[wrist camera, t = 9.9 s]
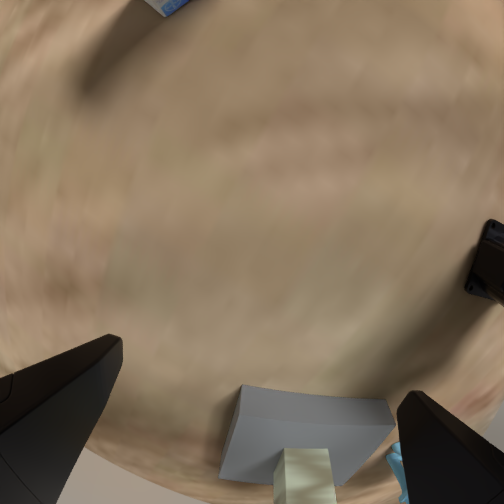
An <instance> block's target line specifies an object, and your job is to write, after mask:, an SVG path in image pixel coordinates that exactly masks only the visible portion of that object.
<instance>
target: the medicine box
mask: <svg viewBox="0 0 504 504" xmlns="http://www.w3.org/2000/svg"><path fill="white" fill-rule="evenodd" d="M144 1H146V2H147V3H148V4H149V5H150V6H152V7H153V8H154V9H155V10H156V11H158V12H159V13H160V14H161V15H162V16H164V17H167V16H169V15H171V14H172V13H173V12H174V11H176V10H177V9H178V8H180V7H181V6H182V5H184V4H185V3H187V2H188V1H189V0H144Z"/></svg>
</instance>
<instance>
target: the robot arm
mask: <svg viewBox="0 0 504 504" xmlns="http://www.w3.org/2000/svg"><path fill="white" fill-rule="evenodd" d="M492 223H493V225H492ZM470 286H471V287H470ZM469 287H470V288H469ZM465 291H466V292H467V293H469V294H473V295H477V296H480V297H484V298H488V299H491V300H495V301H497V302H498V303H499V304H501V305H502V306H503V307H504V225H503V224H502V223H500V222H498V221H496V220H494V219H489V220H488V222H487V225H486V229H485V232H484V235H483V238H482V241H481V244H480V247H479V250H478V253H477V256H476V259H475V261H474V264H473V267H472V269H471V272H470V274H469V277H468V279H467V282H466V284H465ZM122 362H123V341H122V339H121V338H120V337H118V336H115V335H112V334H106V335H104V336H102V337H99V338H97V339H95V340H92V341H90V342H87V343H85V344H83V345H80V346H78V347H75V348H73V349H71V350H68V351H66V352H63V353H61V354H59V355H56V356H54V357H51V358H49V359H46V360H44V361H42V362H39V363H37V364H34V365H32V366H29V367H27V368H24V369H22V370H19V371H17V372H15V373H14V374H9V375H7V376H4V377H2V378H0V504H56V503H57V500H58V498H59V496H60V494H61V492H62V490H63V488H64V485H65V483H66V481H67V479H68V477H69V475H70V473H71V471H72V469H73V467H74V465H75V463H76V461H77V459H78V457H79V455H80V453H81V451H82V450H83V448H84V446H85V444H86V442H87V440H88V438H89V436H90V434H91V432H92V430H93V429H94V427H95V425H96V423H97V421H98V419H99V417H100V416H101V414H102V412H103V410H104V408H105V406H106V403H107V401H108V398H109V396H110V393H111V391H112V388H113V386H114V383H115V381H116V378H117V376H118V374H119V371H120V369H121V366H122ZM397 421H398V430H399V441H400V450H401V457H402V462H403V468H404V473H405V479H406V486H407V492H408V499H409V504H504V453H503V452H502V451H501V450H499V449H498V448H496V447H495V446H494V445H492V444H490V443H489V442H488V441H487V440H486V439H484V438H483V437H482V436H480V435H479V434H478V433H476V432H475V431H474V430H472V429H471V428H470V427H468V426H467V425H466V424H464V423H463V422H462V421H460V420H459V419H458V418H456V417H455V416H454V415H452V414H451V413H450V412H449V411H447V410H446V409H445V408H443V407H442V406H441V405H439V404H438V403H437V402H435V401H434V400H433V399H431V398H430V397H429V396H427V395H426V394H425V393H424V392H422V391H418V390H412V391H410V392H409V393H408V394H407V395H406V397H405V398H404V400H403V401H402V402H401V404H400V405H399V407H398V409H397Z"/></svg>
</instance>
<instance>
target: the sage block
mask: <svg viewBox="0 0 504 504" xmlns="http://www.w3.org/2000/svg"><path fill="white" fill-rule="evenodd" d="M273 474H274V504H337V501H336V495H335V488H334V482H333V476H332V470H331V464H330V458H329V452H328V449H298V448H284V450H283V452H282V454H281V457H280V459H279V462H278V464H277V466H276V468H275V471H274V473H273Z"/></svg>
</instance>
